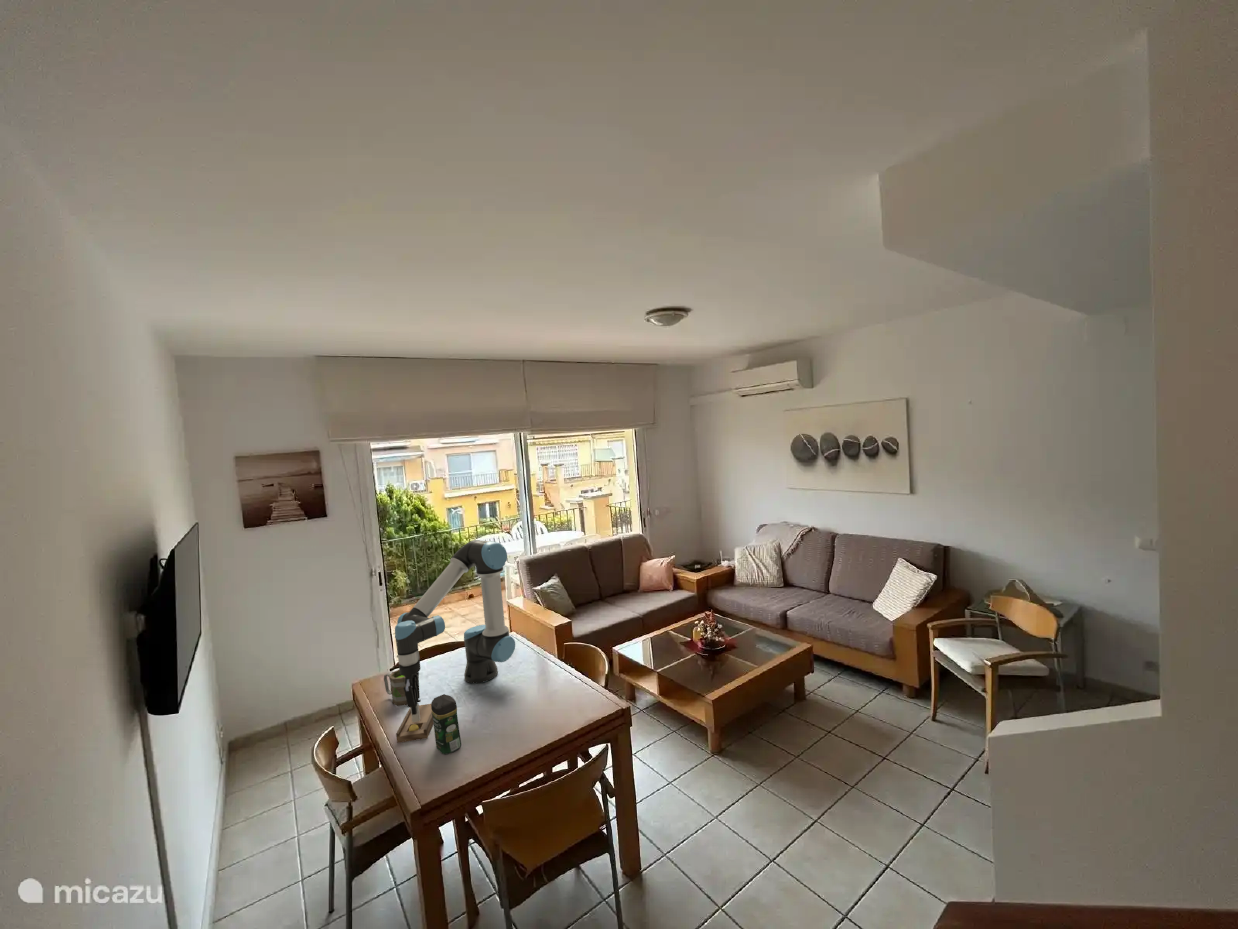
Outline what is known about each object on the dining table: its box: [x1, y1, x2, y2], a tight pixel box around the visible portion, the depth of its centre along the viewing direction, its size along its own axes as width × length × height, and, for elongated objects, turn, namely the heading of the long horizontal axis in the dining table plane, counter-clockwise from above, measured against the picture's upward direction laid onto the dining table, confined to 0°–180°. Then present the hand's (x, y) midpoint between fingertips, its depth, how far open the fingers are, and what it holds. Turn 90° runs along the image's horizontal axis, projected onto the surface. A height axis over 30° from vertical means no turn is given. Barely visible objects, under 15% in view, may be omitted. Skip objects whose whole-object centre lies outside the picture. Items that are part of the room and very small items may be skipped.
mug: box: [383, 669, 408, 707], centre depth 230 cm, size 16×11×12 cm
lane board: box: [395, 703, 434, 744], centre depth 208 cm, size 11×22×4 cm, turn 7°
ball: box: [409, 724, 420, 731], centre depth 201 cm, size 4×4×4 cm
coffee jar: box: [430, 693, 462, 755], centre depth 190 cm, size 10×8×19 cm
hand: (416, 720), depth 204 cm, fingers closed
